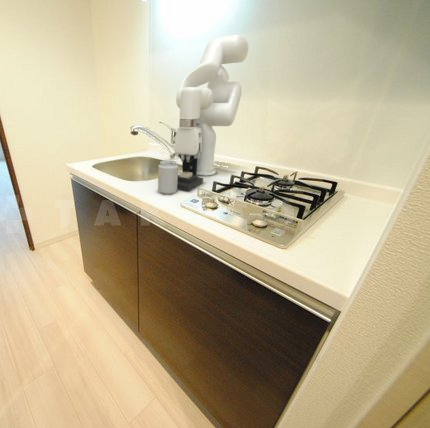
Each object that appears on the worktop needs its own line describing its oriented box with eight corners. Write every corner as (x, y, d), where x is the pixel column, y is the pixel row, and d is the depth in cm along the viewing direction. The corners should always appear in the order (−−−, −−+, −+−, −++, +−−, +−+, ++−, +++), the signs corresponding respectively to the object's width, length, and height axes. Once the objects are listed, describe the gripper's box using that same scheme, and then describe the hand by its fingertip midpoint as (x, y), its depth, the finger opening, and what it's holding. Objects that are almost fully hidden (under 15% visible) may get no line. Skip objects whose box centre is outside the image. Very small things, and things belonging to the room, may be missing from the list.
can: (176, 195, 87) (177, 164, 82) (156, 194, 88) (156, 163, 83) (177, 189, 93) (179, 159, 88) (159, 188, 95) (159, 159, 90)
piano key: (183, 175, 99) (184, 171, 98) (192, 176, 97) (192, 172, 96) (179, 177, 96) (179, 173, 95) (188, 178, 94) (188, 174, 93)
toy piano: (182, 179, 106) (183, 170, 104) (202, 182, 100) (203, 173, 99) (167, 187, 96) (167, 178, 94) (188, 191, 90) (189, 182, 89)
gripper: (211, 124, 86) (206, 171, 94) (176, 123, 94) (174, 167, 102) (203, 125, 81) (199, 175, 88) (167, 124, 89) (165, 170, 97)
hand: (186, 171), depth 95 cm, fingers closed
